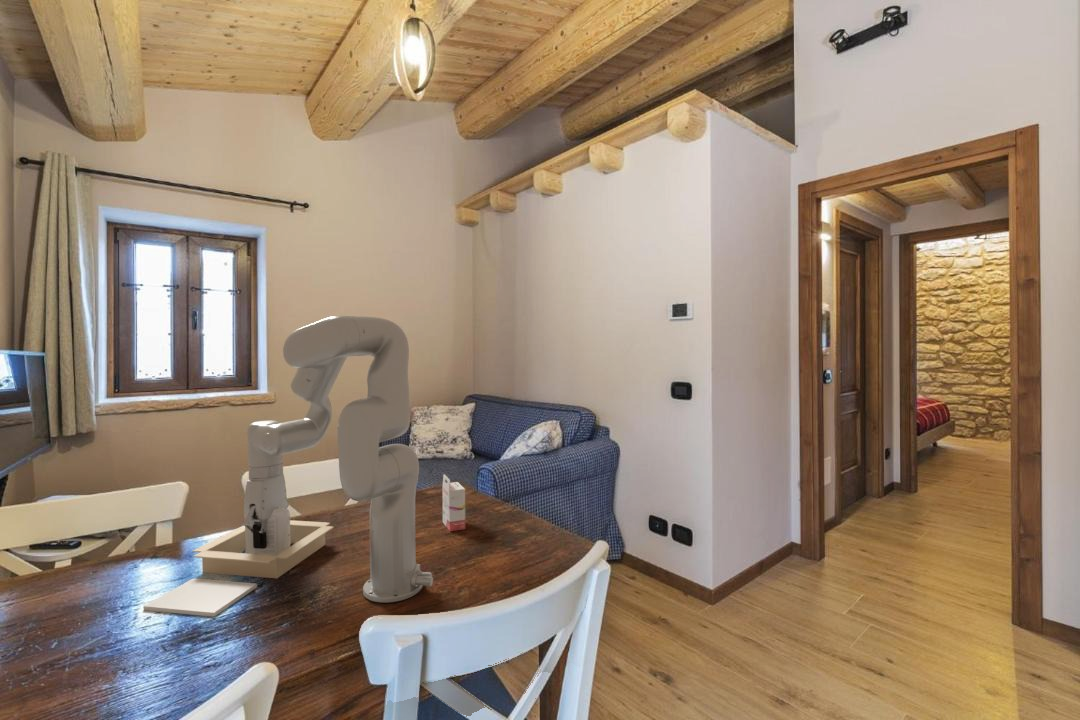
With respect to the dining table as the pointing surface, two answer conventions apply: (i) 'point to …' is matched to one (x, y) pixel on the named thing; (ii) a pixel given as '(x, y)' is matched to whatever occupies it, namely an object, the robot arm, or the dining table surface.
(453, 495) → the ink cartridge box
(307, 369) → the robot arm
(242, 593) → the mat
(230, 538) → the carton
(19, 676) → the dining table surface
